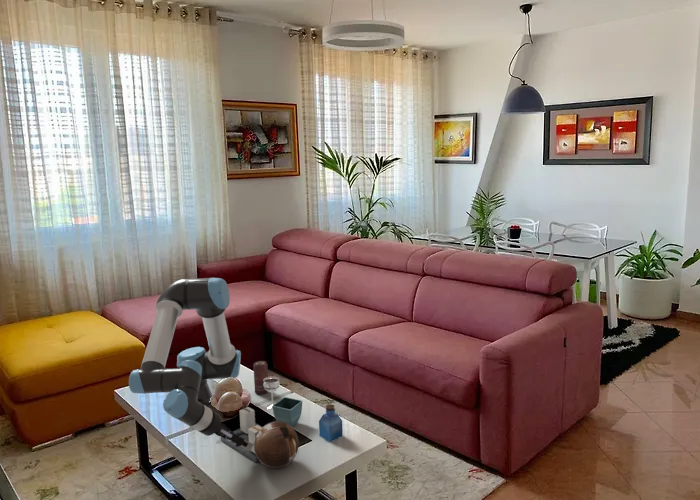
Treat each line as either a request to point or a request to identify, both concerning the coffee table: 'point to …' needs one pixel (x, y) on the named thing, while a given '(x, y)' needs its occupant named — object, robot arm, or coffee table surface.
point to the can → (260, 376)
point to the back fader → (247, 419)
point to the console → (240, 449)
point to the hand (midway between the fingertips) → (250, 447)
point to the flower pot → (288, 410)
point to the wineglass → (271, 387)
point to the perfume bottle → (330, 425)
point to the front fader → (253, 435)
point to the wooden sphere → (276, 444)
